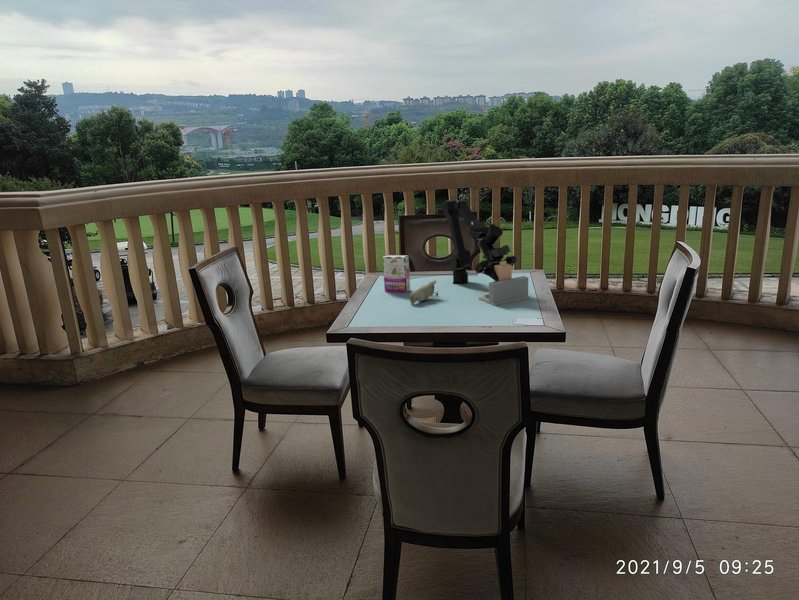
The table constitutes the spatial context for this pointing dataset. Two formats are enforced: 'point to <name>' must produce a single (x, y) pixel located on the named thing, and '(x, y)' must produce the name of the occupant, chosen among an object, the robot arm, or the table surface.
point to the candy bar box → (396, 273)
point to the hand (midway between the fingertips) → (504, 280)
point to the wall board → (506, 291)
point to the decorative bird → (423, 292)
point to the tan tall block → (503, 271)
